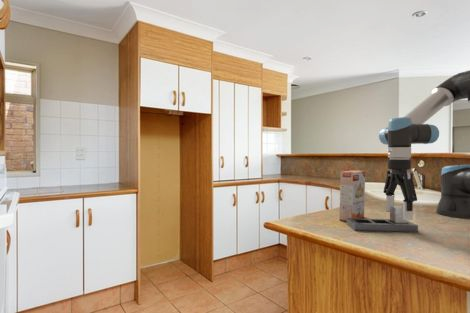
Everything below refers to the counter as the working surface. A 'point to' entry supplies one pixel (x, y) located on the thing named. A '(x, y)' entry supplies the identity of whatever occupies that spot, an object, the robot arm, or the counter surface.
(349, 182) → the cracker box
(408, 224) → the grey compartment tray
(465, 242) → the counter surface
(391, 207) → the block
